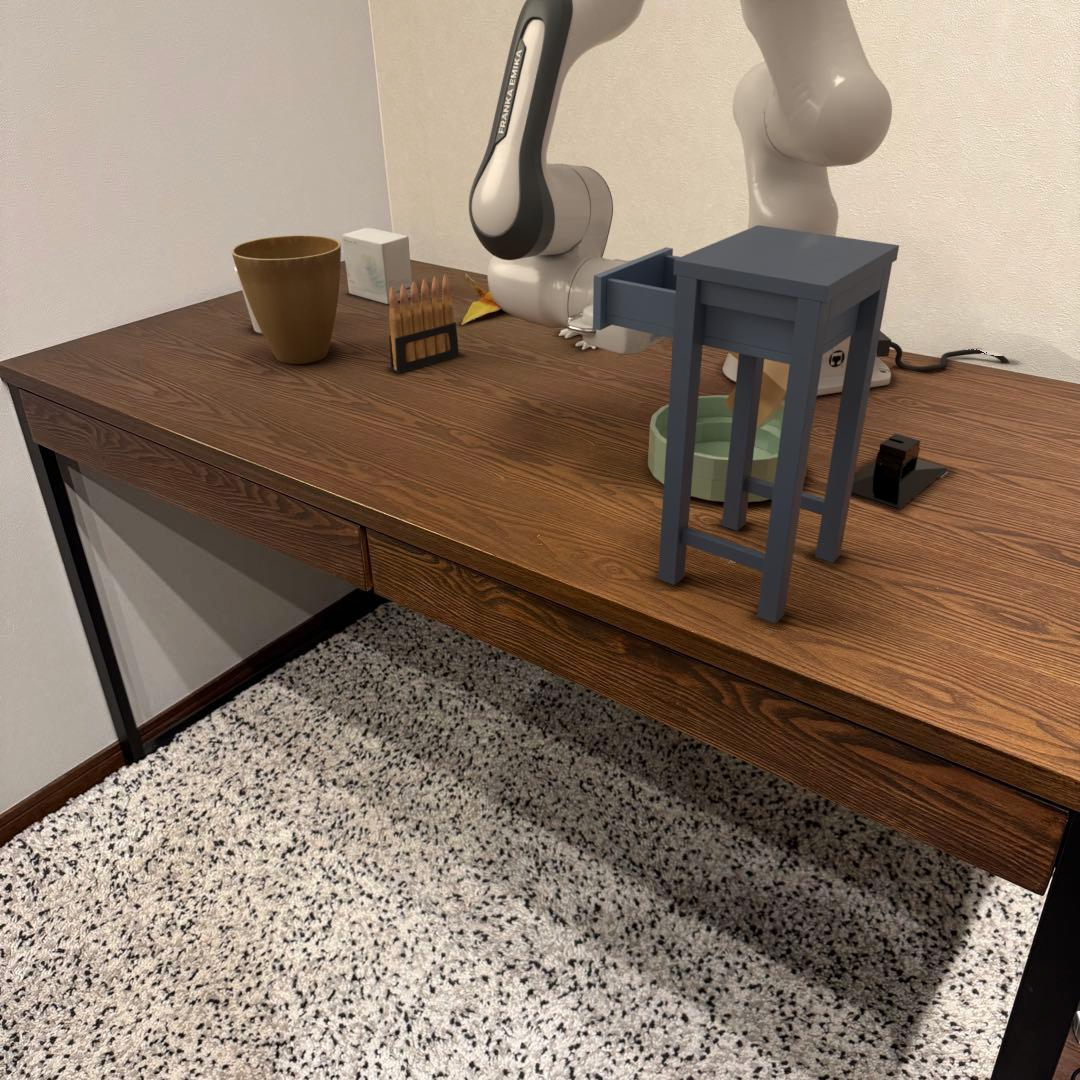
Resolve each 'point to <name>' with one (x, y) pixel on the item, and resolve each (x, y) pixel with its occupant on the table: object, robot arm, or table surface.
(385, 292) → the cosmetics box
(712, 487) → the bowl
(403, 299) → the ammunition clip
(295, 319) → the plant pot
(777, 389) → the mallet
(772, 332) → the nightstand
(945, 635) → the table surface
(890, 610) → the table surface
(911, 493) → the black slotted stand
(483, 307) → the origami crane
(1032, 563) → the table surface
